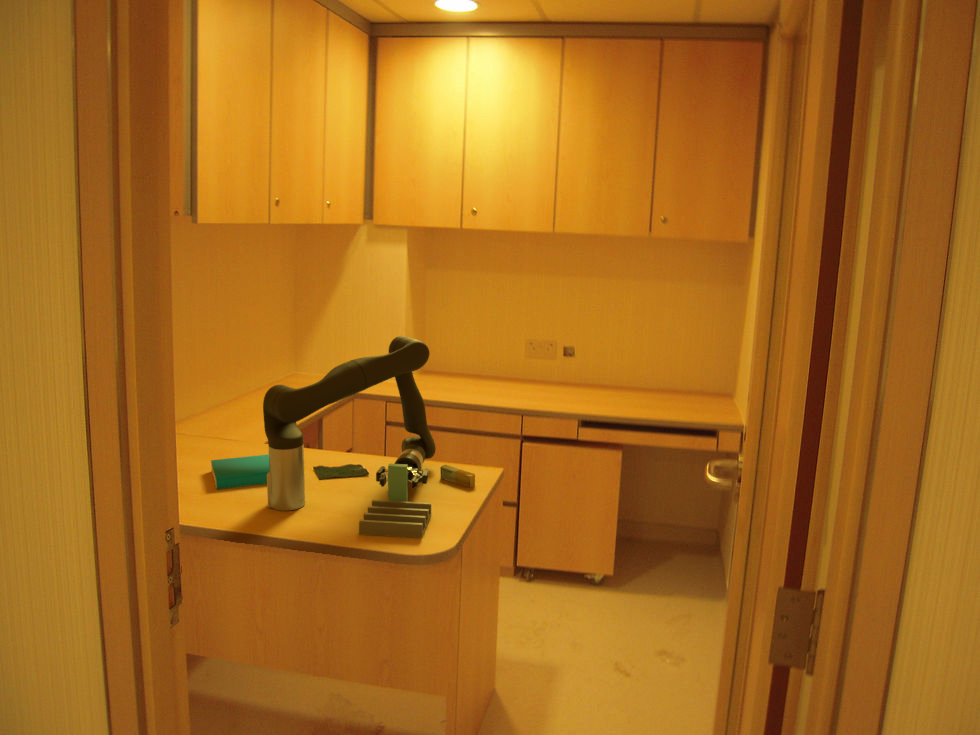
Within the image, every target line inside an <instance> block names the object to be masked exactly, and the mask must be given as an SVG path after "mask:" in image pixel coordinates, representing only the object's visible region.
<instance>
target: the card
mask: <svg viewBox="0 0 980 735" xmlns="http://www.w3.org/2000/svg"><path fill="white" fill-rule="evenodd" d="M387 469H388V475H387V478H388V482H387V492H388V493H387V500H388V501H406V502H409V500H408V499H409V498H408V497H409V494H408V490H409V488H408V485H409V484H408V483H409V482H408V465H407V464H394V463H389V464H388V465H387Z"/></svg>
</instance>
